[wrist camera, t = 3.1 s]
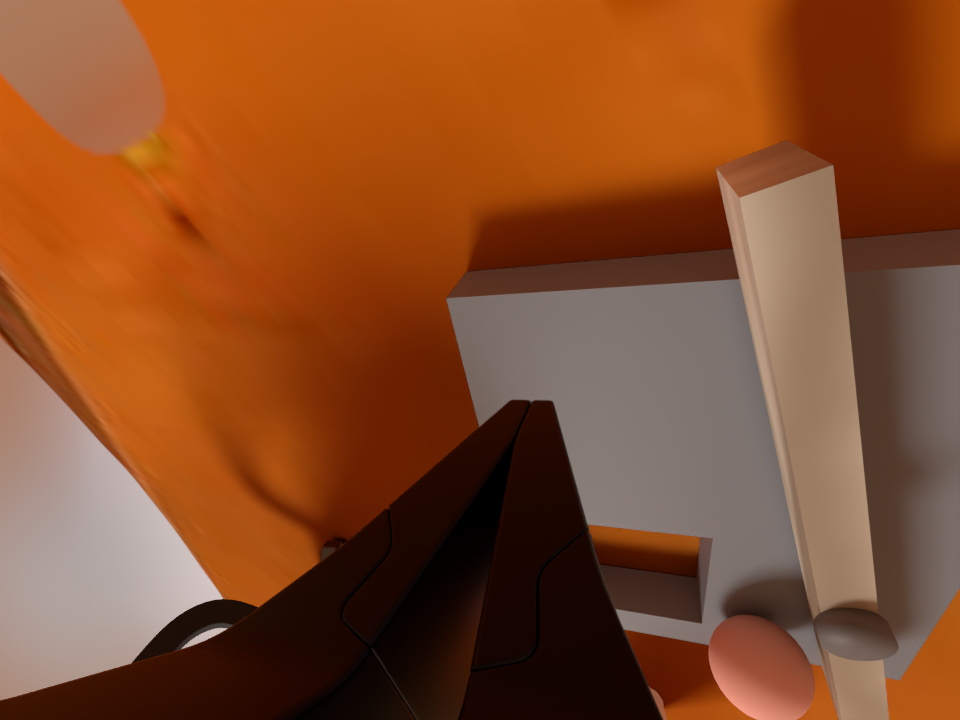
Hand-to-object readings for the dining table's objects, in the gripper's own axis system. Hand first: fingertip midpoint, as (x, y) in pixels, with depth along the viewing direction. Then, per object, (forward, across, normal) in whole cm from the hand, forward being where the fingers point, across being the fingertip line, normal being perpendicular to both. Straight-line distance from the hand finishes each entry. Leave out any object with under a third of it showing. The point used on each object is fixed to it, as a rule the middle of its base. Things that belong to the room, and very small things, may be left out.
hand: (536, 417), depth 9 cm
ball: (+5, -7, +18) cm, 20 cm away
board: (+9, -4, +11) cm, 15 cm away
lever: (+6, -8, +9) cm, 13 cm away
